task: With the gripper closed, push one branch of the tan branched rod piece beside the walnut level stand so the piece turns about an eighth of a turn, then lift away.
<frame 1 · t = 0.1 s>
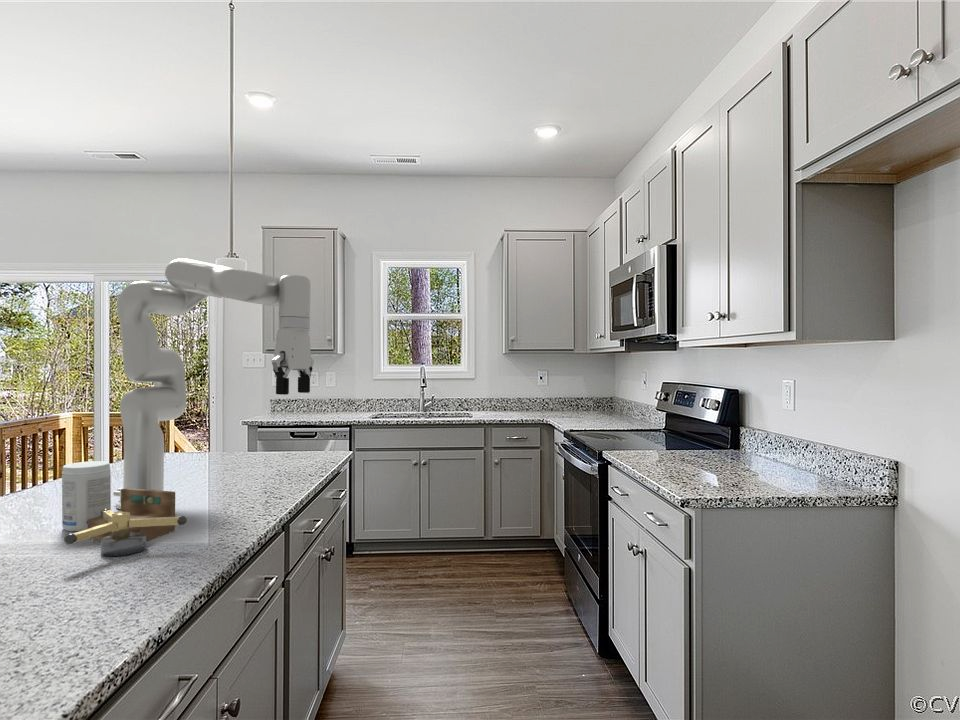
hand: (293, 393, 152), 31 cm above the countertop, tool pointing down, fingers open, 9 cm apart
tan branched rod piece: (109, 535, 122), point 4 cm above the countertop, hinge at 0.0°
supplement tub: (86, 527, 142), on the countertop
level stand: (132, 534, 136), on the countertop
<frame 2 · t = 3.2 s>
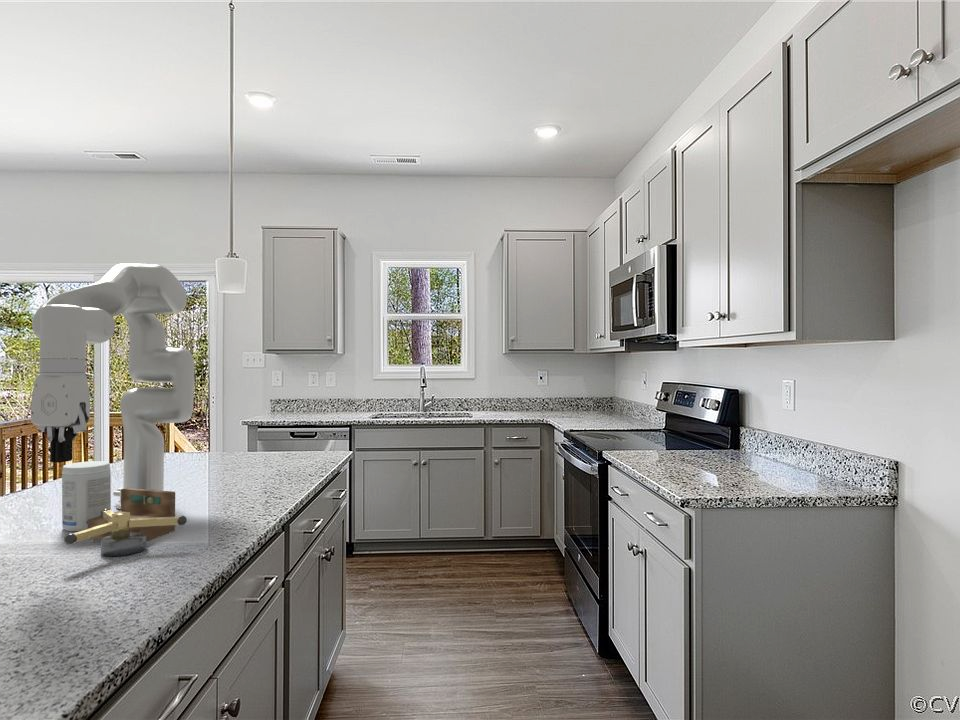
hand: (61, 461, 119), 19 cm above the countertop, tool pointing down, fingers closed
nothing on the countertop moved.
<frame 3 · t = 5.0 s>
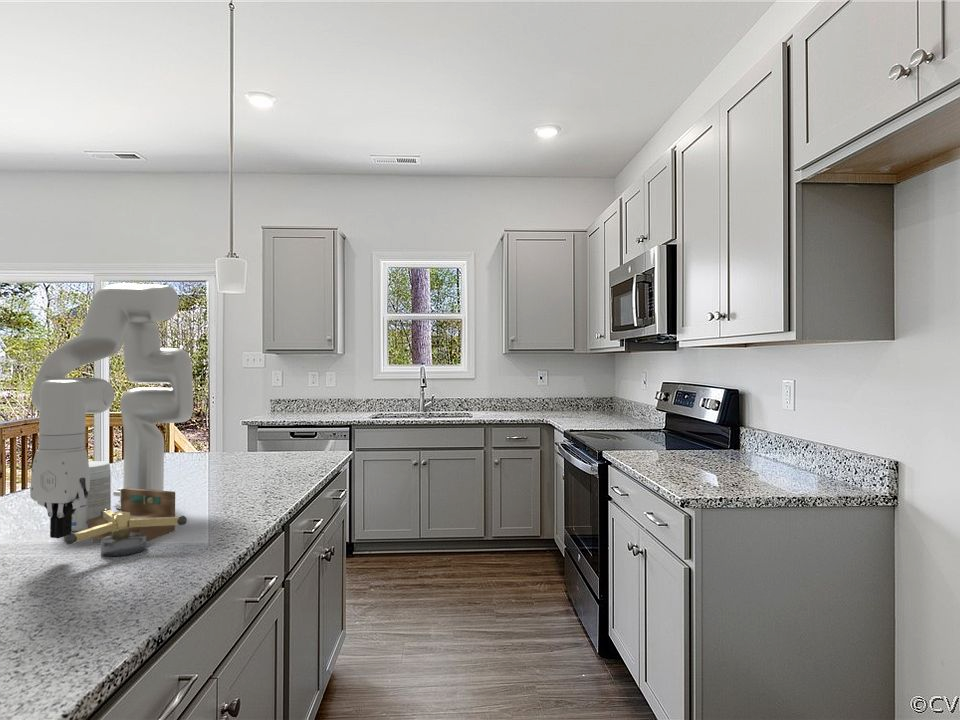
hand: (60, 536, 119), 4 cm above the countertop, tool pointing down, fingers closed
nothing on the countertop moved.
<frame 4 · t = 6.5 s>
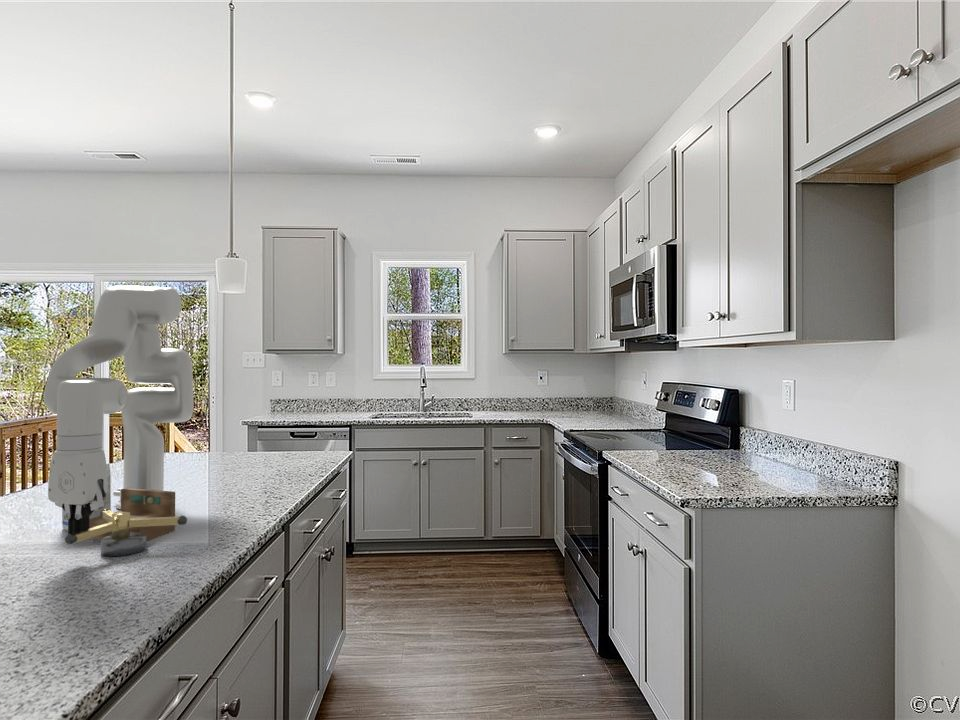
hand: (78, 537, 118), 4 cm above the countertop, tool pointing down, fingers closed
tan branched rod piece: (109, 535, 122), point 4 cm above the countertop, hinge at 0.5°, touching gripper
everything else where it was.
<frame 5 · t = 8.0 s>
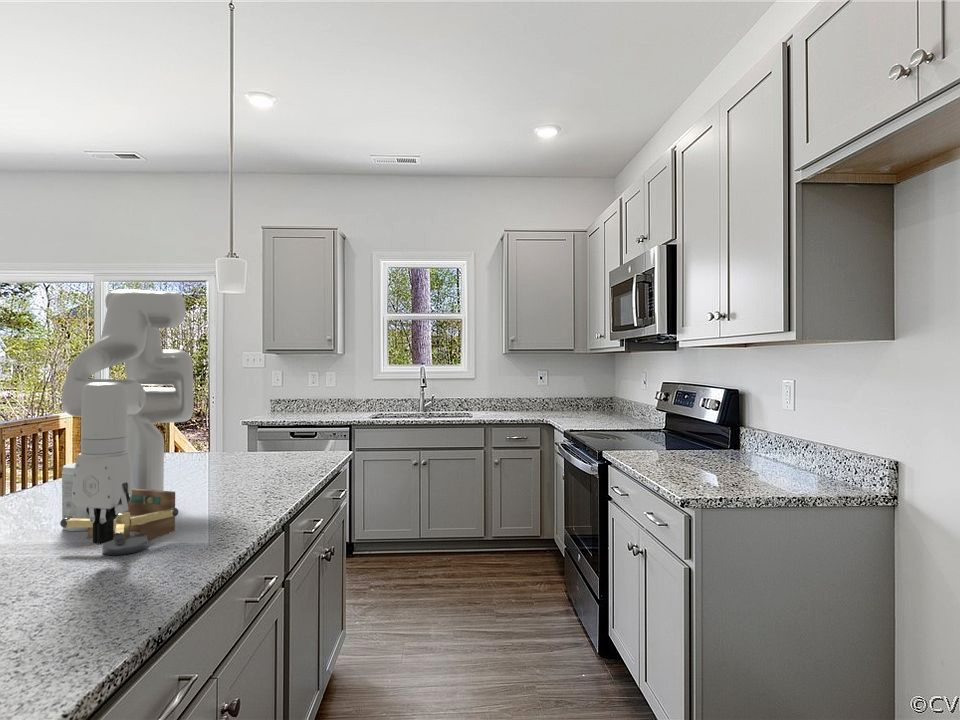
hand: (103, 541, 116), 4 cm above the countertop, tool pointing down, fingers closed
tan branched rod piece: (120, 535, 122), point 4 cm above the countertop, hinge at 43.9°, touching gripper
everything else where it was.
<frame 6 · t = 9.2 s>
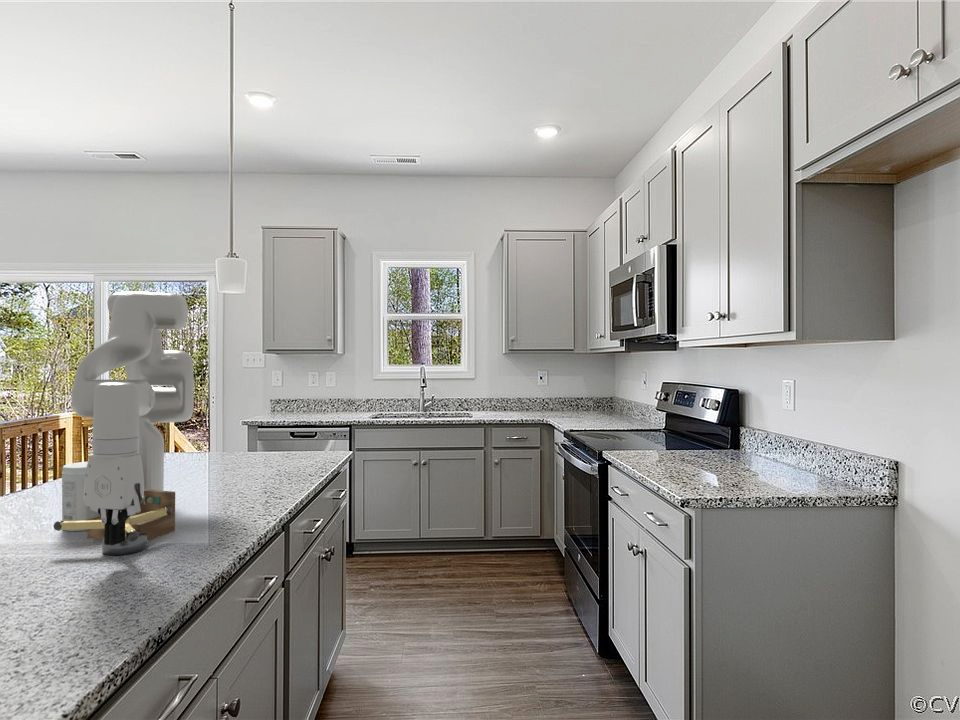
hand: (114, 542, 116), 4 cm above the countertop, tool pointing down, fingers closed
tan branched rod piece: (123, 534, 122), point 4 cm above the countertop, hinge at 55.1°, touching gripper
everything else where it was.
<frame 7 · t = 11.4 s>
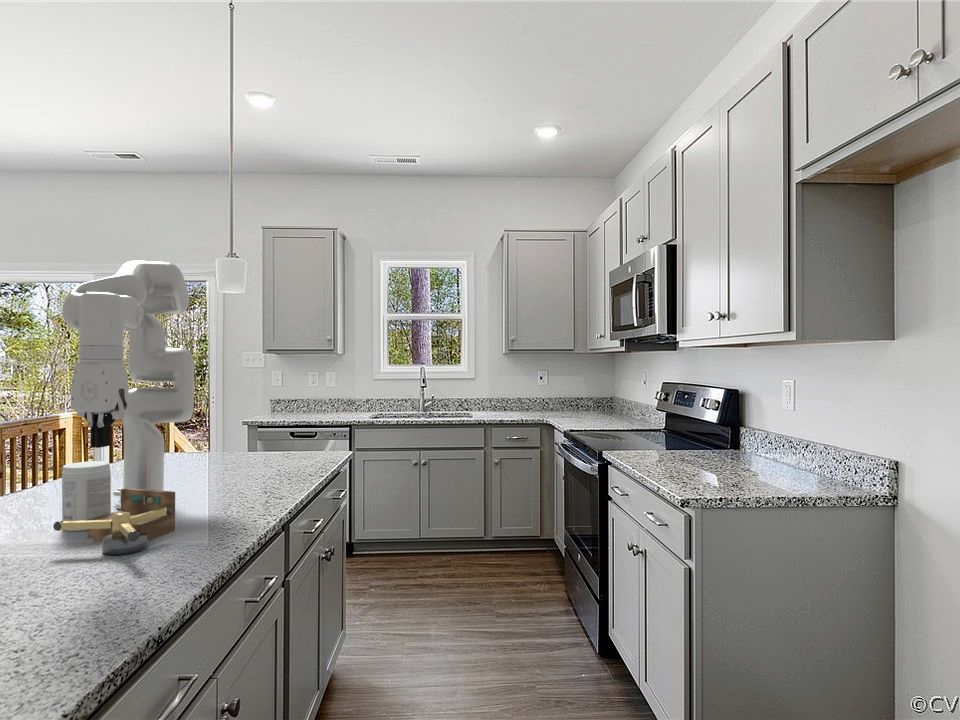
hand: (100, 446, 121), 22 cm above the countertop, tool pointing down, fingers closed
tan branched rod piece: (123, 534, 122), point 4 cm above the countertop, hinge at 55.6°
everything else where it was.
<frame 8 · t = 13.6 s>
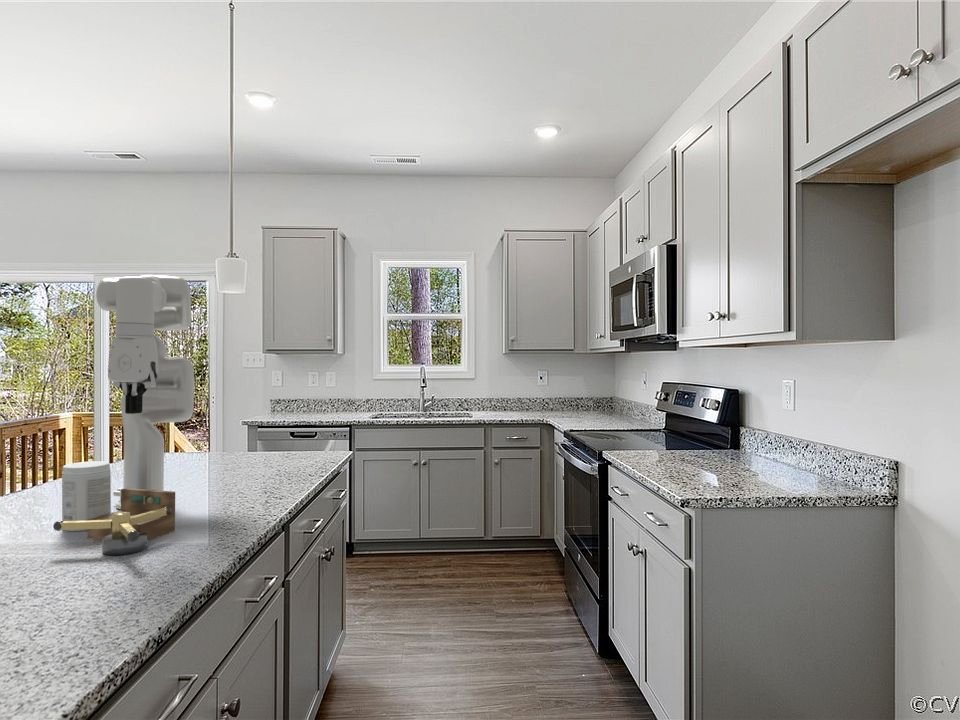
hand: (133, 413, 137), 27 cm above the countertop, tool pointing down, fingers closed
nothing on the countertop moved.
at the end: tan branched rod piece at +56° (first picture: +0°); tan branched rod piece touching nothing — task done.
